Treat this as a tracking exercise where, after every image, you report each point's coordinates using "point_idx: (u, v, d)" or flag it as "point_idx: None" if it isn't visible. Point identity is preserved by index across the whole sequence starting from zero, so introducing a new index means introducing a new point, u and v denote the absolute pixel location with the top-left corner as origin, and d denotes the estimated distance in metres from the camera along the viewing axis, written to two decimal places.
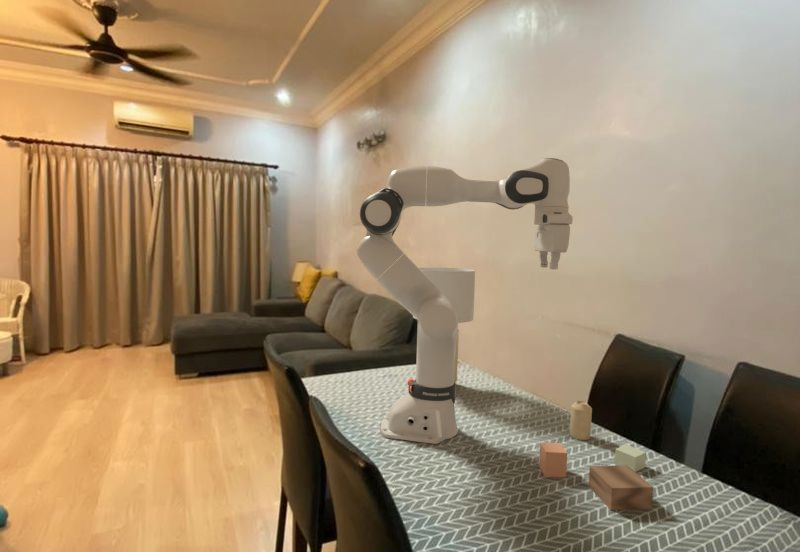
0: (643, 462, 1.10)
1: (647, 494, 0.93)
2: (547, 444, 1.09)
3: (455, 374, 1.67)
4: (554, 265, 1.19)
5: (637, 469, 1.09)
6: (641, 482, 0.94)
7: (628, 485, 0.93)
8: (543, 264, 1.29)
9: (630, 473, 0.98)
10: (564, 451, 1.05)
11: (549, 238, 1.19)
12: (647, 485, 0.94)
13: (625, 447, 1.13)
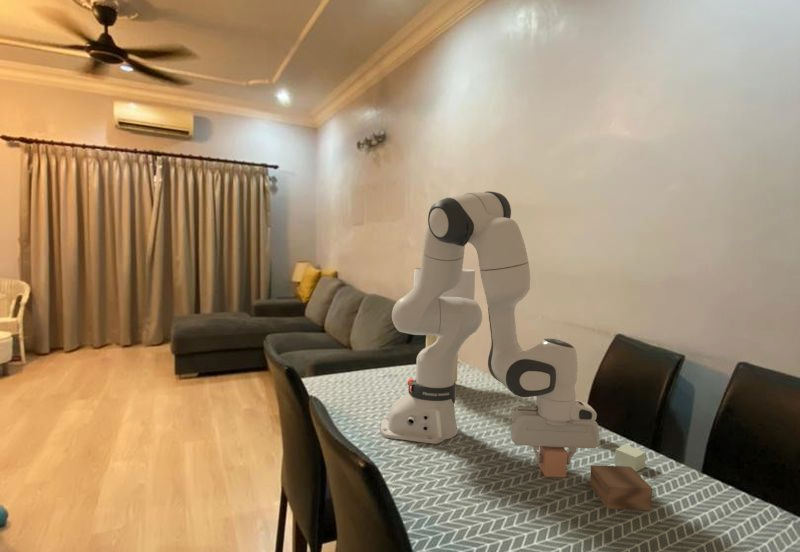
0: (643, 462, 1.10)
1: (645, 495, 0.93)
2: None
3: (455, 374, 1.67)
4: None
5: (637, 469, 1.09)
6: (641, 483, 0.94)
7: (626, 485, 0.93)
8: None
9: (631, 474, 0.98)
10: (564, 451, 1.05)
11: (581, 433, 1.05)
12: (646, 486, 0.93)
13: (625, 447, 1.13)
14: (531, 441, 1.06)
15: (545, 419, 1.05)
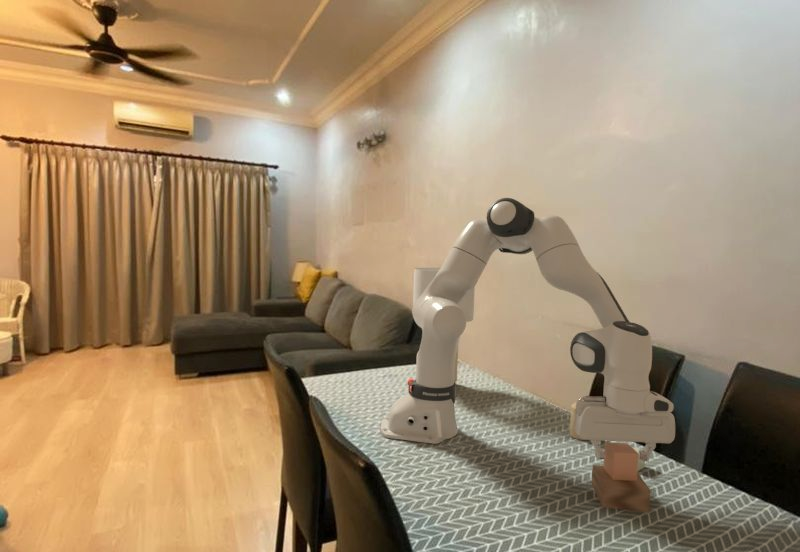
0: (643, 461, 1.10)
1: (643, 497, 0.92)
2: (613, 444, 0.99)
3: (455, 374, 1.67)
4: None
5: (638, 469, 1.09)
6: (640, 485, 0.94)
7: (624, 485, 0.93)
8: None
9: None
10: (634, 452, 0.96)
11: (655, 427, 0.95)
12: (645, 488, 0.92)
13: None
14: (599, 435, 0.96)
15: (615, 411, 0.95)
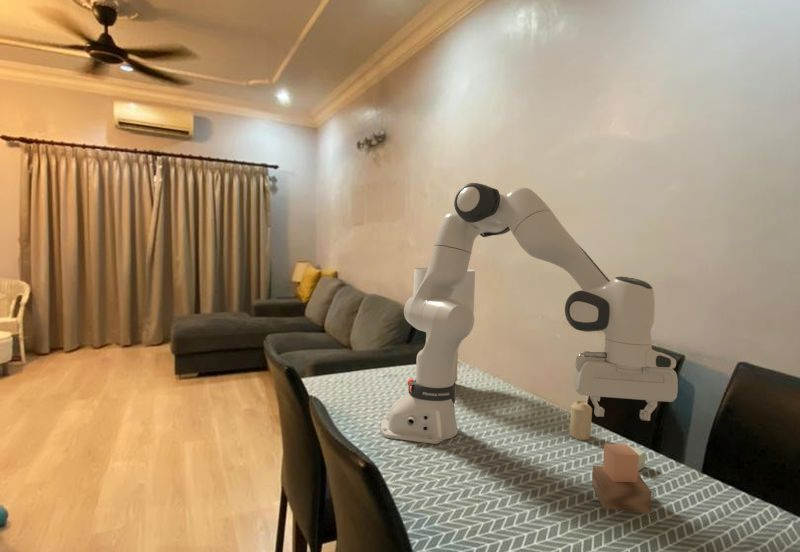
0: (643, 461, 1.10)
1: (644, 498, 0.92)
2: (613, 445, 0.98)
3: (455, 374, 1.67)
4: None
5: (638, 469, 1.09)
6: (640, 486, 0.93)
7: (624, 486, 0.93)
8: None
9: None
10: (635, 453, 0.95)
11: (656, 384, 0.93)
12: (646, 489, 0.92)
13: None
14: (599, 391, 0.94)
15: (616, 366, 0.93)
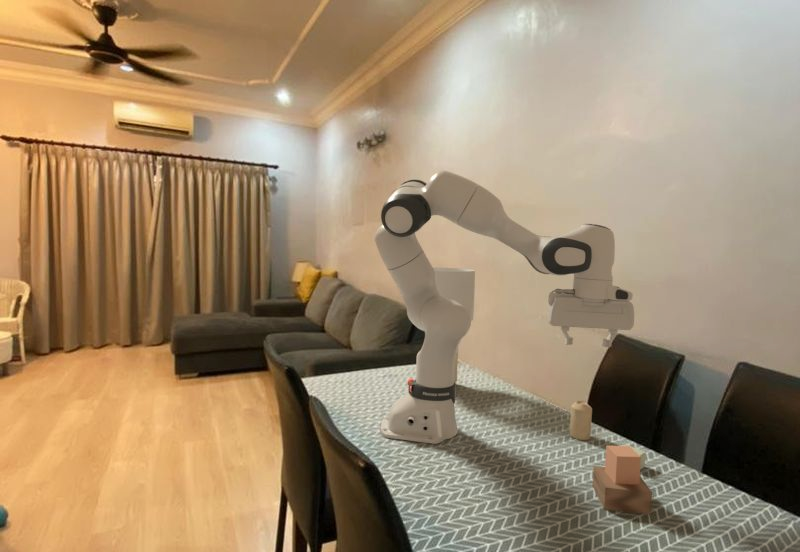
0: (643, 461, 1.10)
1: (645, 499, 0.91)
2: (615, 447, 0.97)
3: (455, 374, 1.67)
4: None
5: None
6: (641, 487, 0.93)
7: (625, 487, 0.93)
8: None
9: None
10: (637, 455, 0.94)
11: (616, 315, 1.09)
12: (646, 490, 0.92)
13: None
14: (568, 322, 1.09)
15: (582, 300, 1.09)
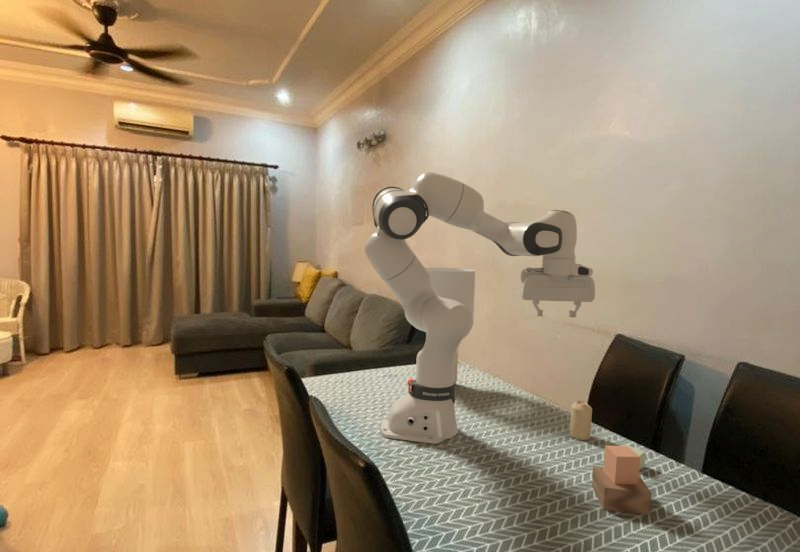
0: (643, 461, 1.10)
1: (644, 499, 0.91)
2: (614, 447, 0.97)
3: (455, 374, 1.67)
4: None
5: None
6: (640, 487, 0.93)
7: (624, 487, 0.93)
8: None
9: None
10: (636, 455, 0.94)
11: (579, 289, 1.25)
12: (646, 490, 0.92)
13: None
14: (538, 296, 1.26)
15: (549, 277, 1.25)
